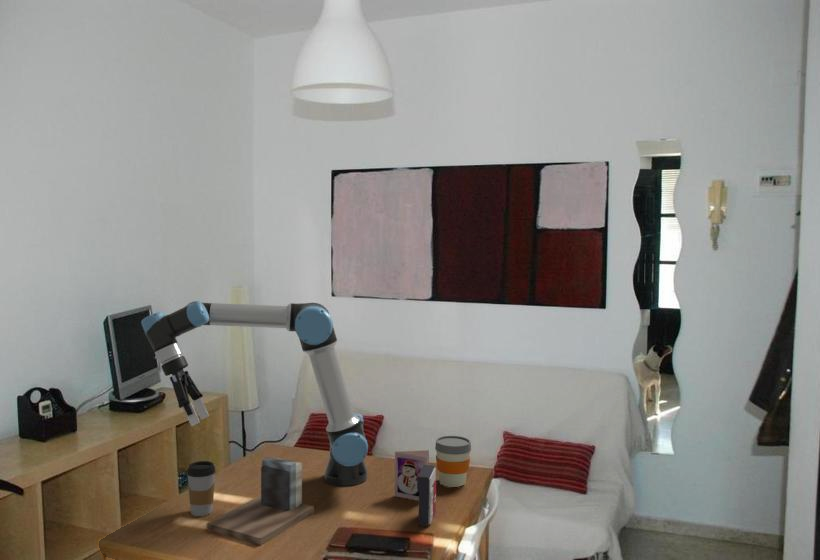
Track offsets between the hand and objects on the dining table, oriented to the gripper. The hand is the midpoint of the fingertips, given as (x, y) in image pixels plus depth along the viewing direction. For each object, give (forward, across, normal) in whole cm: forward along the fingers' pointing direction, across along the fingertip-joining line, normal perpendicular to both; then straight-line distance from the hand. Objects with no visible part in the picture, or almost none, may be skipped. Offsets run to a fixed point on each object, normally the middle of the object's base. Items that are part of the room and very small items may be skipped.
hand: (200, 421), depth 210 cm
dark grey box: (+57, +11, +51) cm, 77 cm away
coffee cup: (+26, +2, -11) cm, 28 cm away
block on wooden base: (+35, +10, +6) cm, 36 cm away
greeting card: (+54, -7, +50) cm, 73 cm away
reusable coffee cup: (+59, -18, +64) cm, 88 cm away
